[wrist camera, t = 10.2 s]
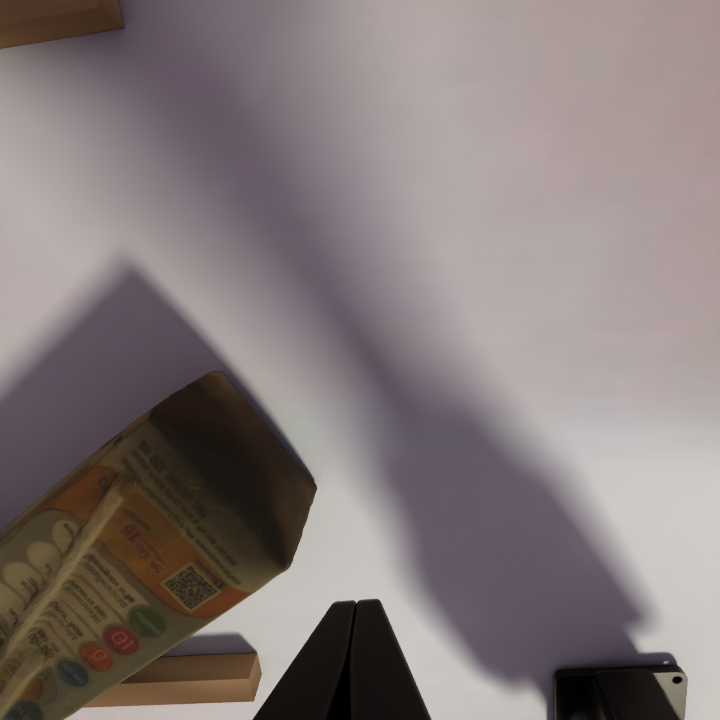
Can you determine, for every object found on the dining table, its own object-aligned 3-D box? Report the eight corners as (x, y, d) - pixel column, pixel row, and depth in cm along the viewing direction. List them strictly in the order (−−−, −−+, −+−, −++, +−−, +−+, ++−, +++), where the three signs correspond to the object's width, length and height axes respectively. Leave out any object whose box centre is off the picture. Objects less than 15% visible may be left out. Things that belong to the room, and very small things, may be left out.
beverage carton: (-32, 565, 24) (-182, 679, 18) (219, 355, 20) (144, 403, 14) (74, 660, 25) (-31, 799, 19) (329, 479, 22) (306, 575, 15)
